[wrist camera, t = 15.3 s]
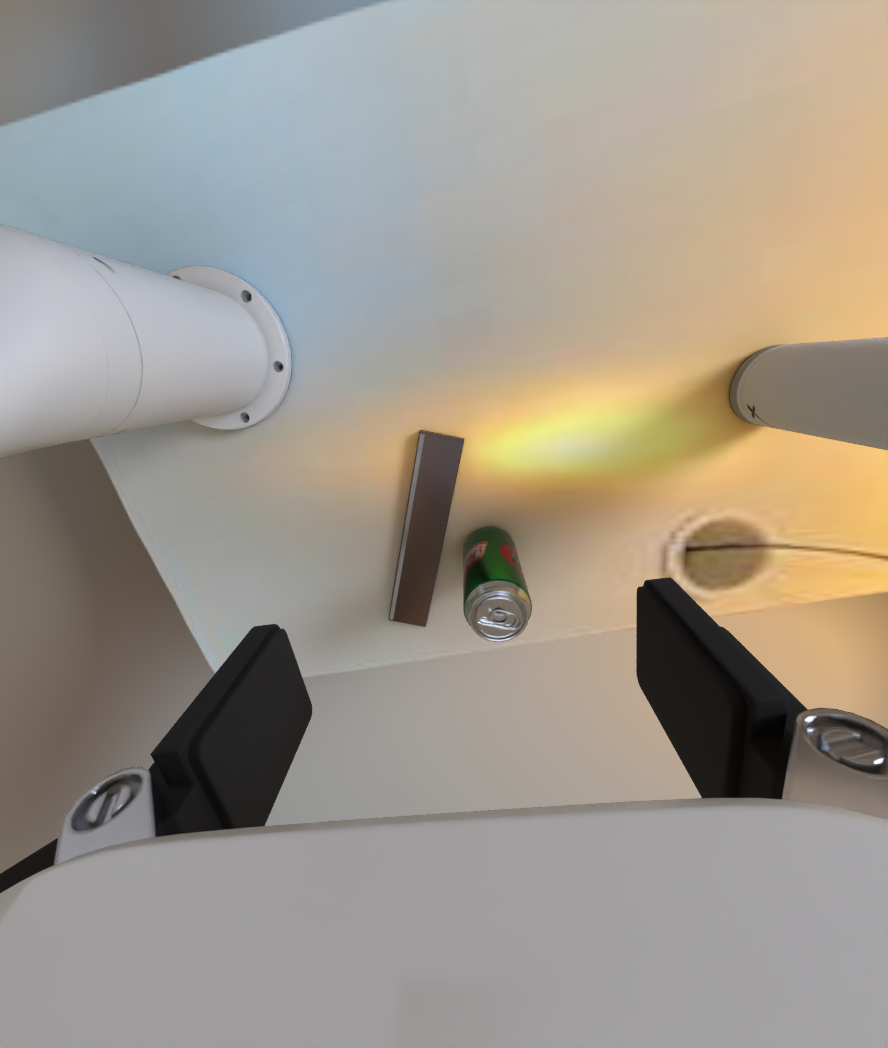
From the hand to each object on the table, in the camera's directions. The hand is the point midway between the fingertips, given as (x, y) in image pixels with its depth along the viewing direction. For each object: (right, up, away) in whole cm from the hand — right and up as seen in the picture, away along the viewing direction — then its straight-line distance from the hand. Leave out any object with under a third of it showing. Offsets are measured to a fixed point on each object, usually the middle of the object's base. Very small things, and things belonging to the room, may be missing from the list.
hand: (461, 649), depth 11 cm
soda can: (+4, +1, +30) cm, 30 cm away
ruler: (-2, +2, +30) cm, 30 cm away
